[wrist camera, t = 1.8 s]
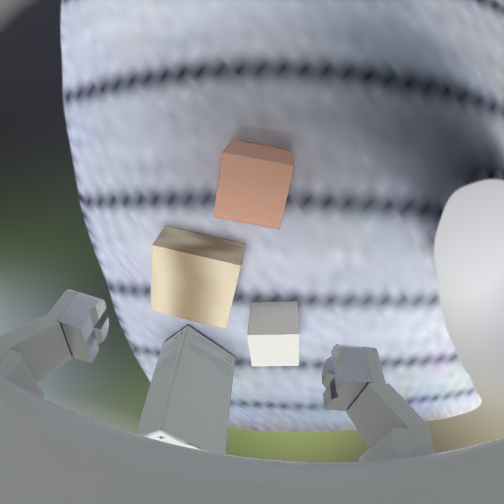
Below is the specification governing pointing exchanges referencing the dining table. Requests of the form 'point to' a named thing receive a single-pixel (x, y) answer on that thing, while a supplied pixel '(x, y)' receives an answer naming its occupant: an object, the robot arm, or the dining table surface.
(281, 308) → the offwhite cube
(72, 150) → the dining table surface
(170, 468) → the robot arm
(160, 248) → the beech base
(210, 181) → the dining table surface
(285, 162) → the terracotta cube
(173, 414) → the skincare box
